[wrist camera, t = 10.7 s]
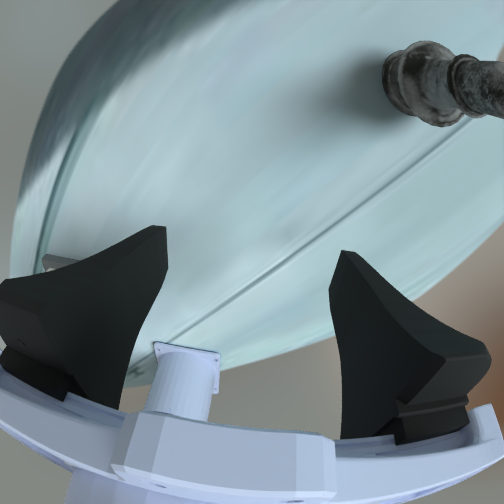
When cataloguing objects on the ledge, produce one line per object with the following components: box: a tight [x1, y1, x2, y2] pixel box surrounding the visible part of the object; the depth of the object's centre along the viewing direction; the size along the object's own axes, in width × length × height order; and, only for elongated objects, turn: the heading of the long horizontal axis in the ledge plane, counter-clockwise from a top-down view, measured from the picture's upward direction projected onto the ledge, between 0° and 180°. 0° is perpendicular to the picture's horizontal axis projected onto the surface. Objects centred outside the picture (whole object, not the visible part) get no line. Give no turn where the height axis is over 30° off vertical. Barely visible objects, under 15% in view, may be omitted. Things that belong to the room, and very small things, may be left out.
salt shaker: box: [382, 41, 504, 127], centre depth 10 cm, size 6×6×12 cm
